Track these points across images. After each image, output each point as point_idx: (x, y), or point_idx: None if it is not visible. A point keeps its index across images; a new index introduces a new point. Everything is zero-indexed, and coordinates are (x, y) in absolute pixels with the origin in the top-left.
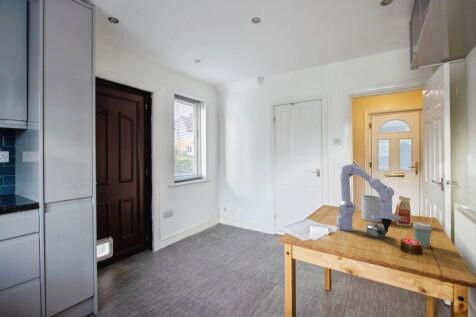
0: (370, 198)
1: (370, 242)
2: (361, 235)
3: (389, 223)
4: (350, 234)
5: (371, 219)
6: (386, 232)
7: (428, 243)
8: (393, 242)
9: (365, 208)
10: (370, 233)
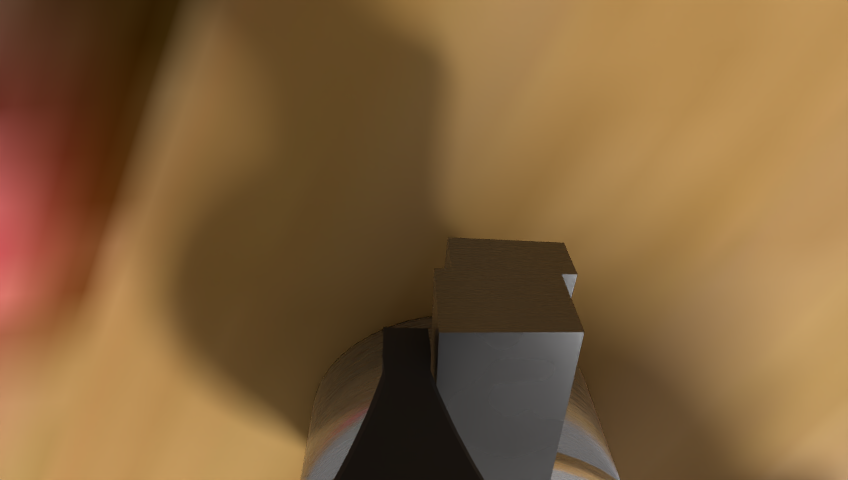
0: None
1: (761, 139)
2: (680, 414)
3: None
4: (829, 433)
5: None
6: (445, 290)
7: None
8: (275, 175)
9: None
10: (596, 420)
